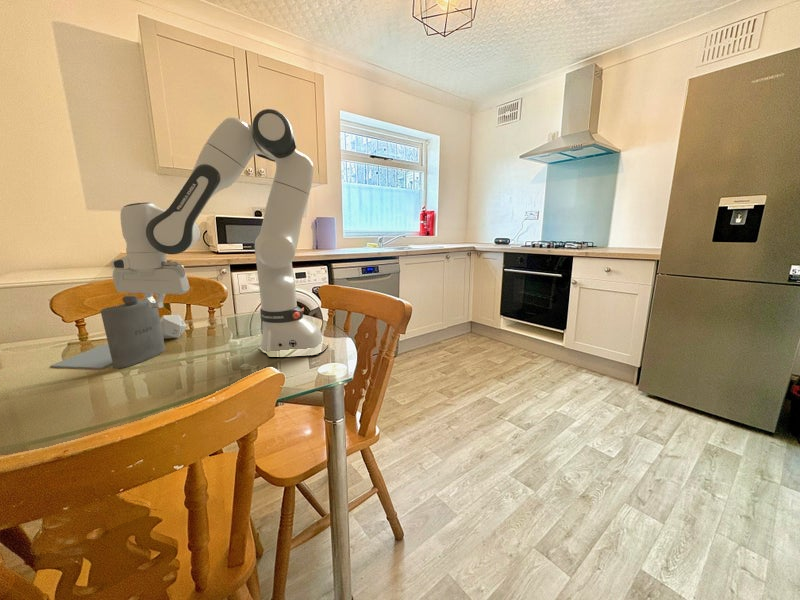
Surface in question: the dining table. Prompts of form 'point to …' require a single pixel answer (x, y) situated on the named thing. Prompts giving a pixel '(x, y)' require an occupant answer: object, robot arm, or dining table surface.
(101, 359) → the mat
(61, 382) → the dining table surface
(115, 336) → the grey flat lettered container
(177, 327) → the die
